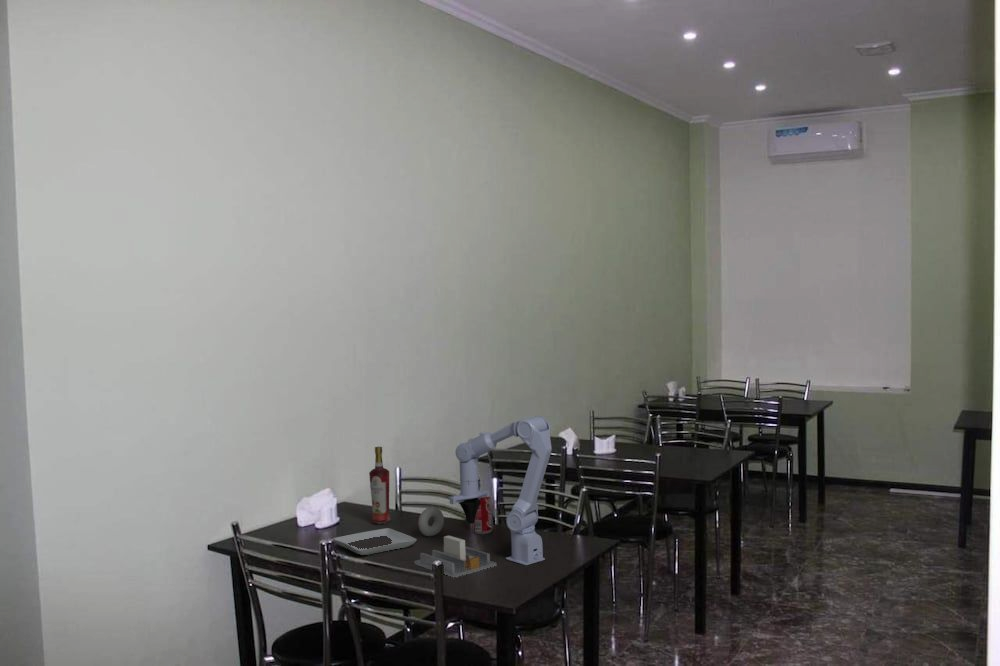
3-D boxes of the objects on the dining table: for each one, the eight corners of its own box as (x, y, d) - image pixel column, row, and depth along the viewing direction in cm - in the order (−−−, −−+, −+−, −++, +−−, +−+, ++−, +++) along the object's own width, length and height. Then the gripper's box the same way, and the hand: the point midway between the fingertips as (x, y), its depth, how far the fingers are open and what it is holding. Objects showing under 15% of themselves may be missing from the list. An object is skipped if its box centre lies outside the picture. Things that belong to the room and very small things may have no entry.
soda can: (490, 535, 291) (488, 497, 290) (469, 534, 292) (468, 496, 292) (494, 529, 298) (493, 492, 297) (474, 529, 299) (473, 492, 299)
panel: (465, 563, 255) (465, 540, 255) (460, 564, 253) (459, 541, 253) (449, 558, 261) (448, 535, 261) (444, 559, 260) (443, 536, 259)
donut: (422, 539, 288) (421, 510, 287) (416, 538, 290) (415, 508, 290) (446, 534, 294) (445, 505, 294) (440, 532, 297) (439, 503, 296)
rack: (496, 566, 255) (496, 552, 255) (453, 578, 244) (453, 564, 244) (456, 553, 270) (455, 540, 270) (414, 564, 260) (413, 551, 260)
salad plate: (388, 536, 296) (388, 526, 296) (418, 548, 278) (418, 538, 278) (331, 547, 284) (331, 537, 284) (359, 561, 266) (358, 550, 266)
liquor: (368, 525, 310) (365, 448, 310) (375, 520, 317) (372, 445, 317) (387, 525, 309) (384, 448, 308) (394, 520, 316) (391, 445, 315)
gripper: (479, 475, 278) (480, 516, 278) (443, 482, 268) (444, 525, 269) (492, 477, 272) (494, 520, 272) (456, 485, 263) (458, 528, 263)
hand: (470, 522), depth 270 cm, fingers closed
